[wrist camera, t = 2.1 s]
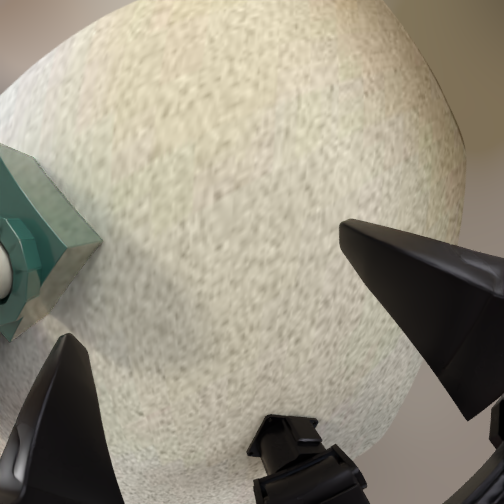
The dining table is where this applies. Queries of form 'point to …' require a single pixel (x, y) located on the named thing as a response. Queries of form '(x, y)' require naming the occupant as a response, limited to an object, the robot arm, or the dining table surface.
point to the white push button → (5, 273)
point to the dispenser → (37, 241)
